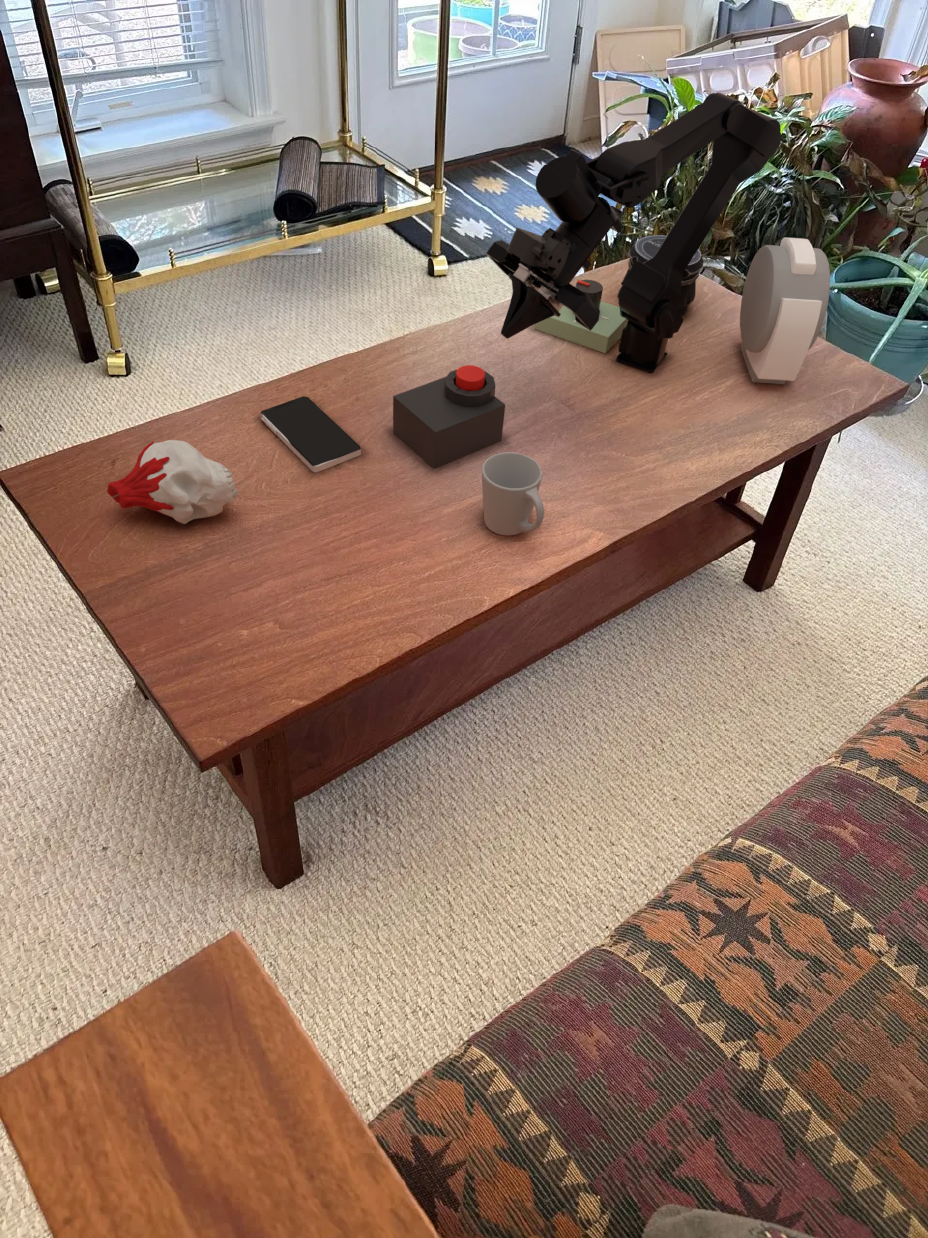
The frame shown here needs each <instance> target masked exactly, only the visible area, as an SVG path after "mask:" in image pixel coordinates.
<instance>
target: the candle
mask: <svg viewBox="0 0 928 1238" xmlns="http://www.w3.org/2000/svg"><path fill="white" fill-rule="evenodd" d="M232 476H233V472H231V471H230V469H229V468H226V466H225V465H223V464H222V463H221V462H217V461H215V460H212V459H210V458H208V457H205V456H204V455H203V454H202V453H201V452H200V451H199V450H198V449H197V448H195V447H194V446H193V445H192V444H190V443H189V442H187V441H184V440H178V439H168V440H165V441H160V442H154V440H153V441H151V442H150V443H148V444H146V446H144V448H143V449H142V450H141V452H140V453H139V455H137V460H136V462H135V464H134V466H133V468H132V470H131V471H129V473H128V474H127V475H126V476H124V477H123V478H120V479H117V480H114V481H109V482H108V483H107V490H106V493H107V494H108V495H109V496H110V497H111V498H112V499H113V500H114V501H115V502H116V503H118V504H119V506H120V508H121V509H129V508H133V507H142V508H146V509H147V510H151V511H153V512H156V513H158V514H161V515H164V516H168V517H171V518H172V519H174V520H175V522H178V523H180V524H182V525H186V524H187V523H189V522H191V521H193V520H198V519H206V518H210V517H214V516H217V515H219V514H220V513H223V510H224V509H223V508H224V506H225V505H227V504H232V503H233V502H234V501H235V499H237V498H238V497H239V496H240V494H239V489H237V483H236V482H234V481H235V480H234V478H233V477H232Z"/></svg>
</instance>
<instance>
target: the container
mask: <svg viewBox="0 0 928 1238" xmlns="http://www.w3.org/2000/svg"><path fill="white" fill-rule="evenodd" d="M666 237H667V235H662V234H653V235H646V236H643V237H641V238H638V239H637V240H636V241H635V242H634V244H632V245H631V248H629V250H628V258H629V259H628V262H627V266H628V269H627V271H626V273H625V275H624V277H623V280H624V279H625V278H626V277H627V275H628V274H629V272H630V270H631V268H632V266H633V264H634V263H635V262H637V261H640V262H642V263H644V262H646V261H648V260H649V259H651V258H653V257H654V256H655V255H656V253H657V252H658V250H659V248H660V247H661V245H662V244H663V242H664V240H665V239H666ZM703 267H704V259H703V256H702V252H701V250H700V248H698V250H697V252H696V253H695V255H694V256H693V258H692V260H691V261H690V263H689V264H688V266H687V267H686V269H685V271H684V272H683V274H682V282H681V295H680V298H679V300H678V302H677V304H676V306H675V308H676V309H677V311H678V312H679V313H680V315H681V316H682V317H683V316H684V315H686V313H687V311H688V306H689V305H690V304H691V303H692V302H694V301H695V298H696V289H697V288H696V287H697V283H696V282H697V280H698V279H699V277H700V272H701V270H702V268H703ZM623 280H622V281H623Z"/></svg>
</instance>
